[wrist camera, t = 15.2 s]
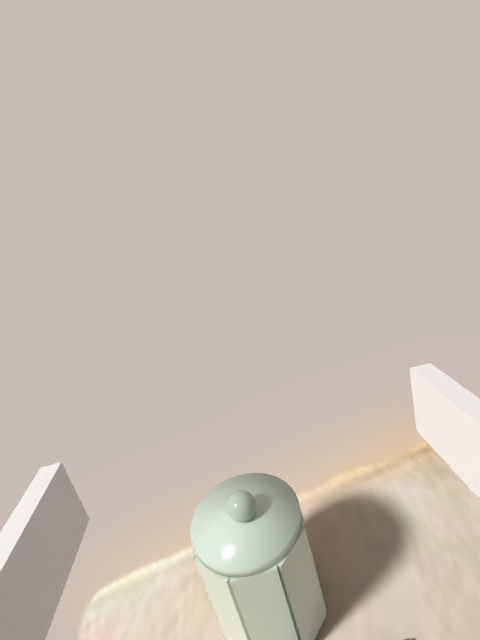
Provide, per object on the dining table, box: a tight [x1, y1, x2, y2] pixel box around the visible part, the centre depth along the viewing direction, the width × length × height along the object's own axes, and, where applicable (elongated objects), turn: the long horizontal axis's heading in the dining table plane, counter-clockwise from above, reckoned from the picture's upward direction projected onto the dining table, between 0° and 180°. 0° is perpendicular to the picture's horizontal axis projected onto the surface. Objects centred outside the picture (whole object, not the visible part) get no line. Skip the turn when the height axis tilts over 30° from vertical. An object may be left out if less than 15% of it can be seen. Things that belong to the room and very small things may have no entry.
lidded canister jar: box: [190, 473, 327, 640], centre depth 35 cm, size 10×10×14 cm
